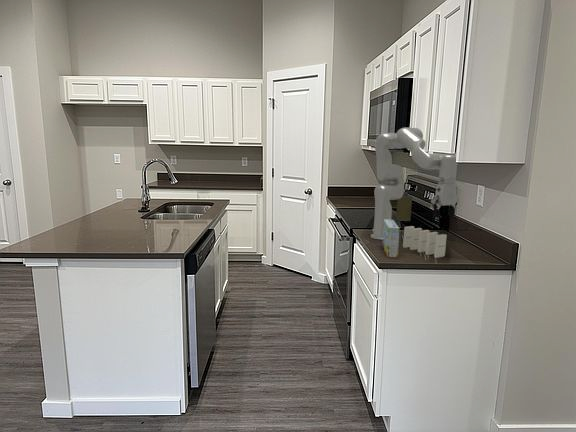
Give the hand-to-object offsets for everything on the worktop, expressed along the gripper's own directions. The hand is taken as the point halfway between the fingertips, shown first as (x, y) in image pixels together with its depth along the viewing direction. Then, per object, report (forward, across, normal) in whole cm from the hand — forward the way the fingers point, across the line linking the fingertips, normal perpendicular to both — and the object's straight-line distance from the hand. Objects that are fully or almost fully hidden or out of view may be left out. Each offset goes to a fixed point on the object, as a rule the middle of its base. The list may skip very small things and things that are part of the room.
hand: (443, 216), depth 195 cm
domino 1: (+20, -1, +21) cm, 29 cm away
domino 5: (+20, 0, 0) cm, 20 cm away
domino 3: (+20, -1, +10) cm, 23 cm away
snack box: (+20, -18, +16) cm, 32 cm away
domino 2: (+20, -1, +16) cm, 26 cm away
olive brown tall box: (+21, +51, +83) cm, 99 cm away
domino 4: (+20, 0, +5) cm, 21 cm away
